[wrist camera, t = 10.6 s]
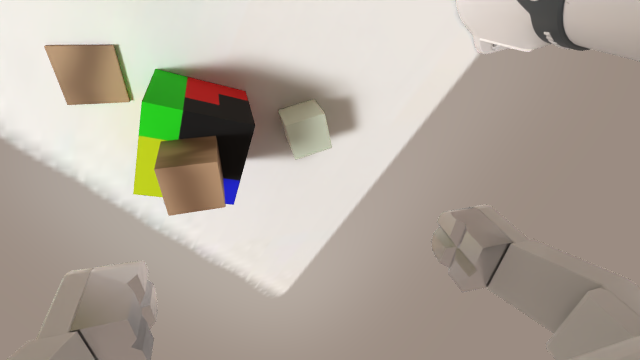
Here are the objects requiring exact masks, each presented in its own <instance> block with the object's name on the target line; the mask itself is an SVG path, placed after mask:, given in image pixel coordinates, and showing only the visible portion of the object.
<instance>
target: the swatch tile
mask: <svg viewBox="0 0 640 360" xmlns="http://www.w3.org/2000/svg"><path fill="white" fill-rule="evenodd" d="M44 47H45V50H46V52H47V55H48V57H49V60H50V62H51V65H52V67H53V70H54V72H55V75H56V77H57V80H58V82H59V85H60V87H61V90H62V92H63V95H64V97H65V100H66V102H67V105H77V104H98V103H118V102H129V101H130V99H129V96H128V92H127V89H126V85H125V82H124V78H123V75H122V71H121V68H120V64H119V61H118V57H117V54H116V50H115V47H114V45H46V46H44Z"/></svg>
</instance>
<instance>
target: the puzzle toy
mask: <svg viewBox="0 0 640 360" xmlns="http://www.w3.org/2000/svg"><path fill="white" fill-rule="evenodd" d="M254 128H255V123H254V120H253V116H252V112H251V109H250V105H249V102H248V98H247V95H246V91H242V90H238V89H234V88H230V87H226V86H222V85H218V84H214V83H210V82H206V81H202V80H198V79H194V78H190V77H186V76H182V75H178V74H174V73H170V72H166V71H162V70H158V69H155V71H154V74H153V76H152V78H151V81H150V83H149V86H148V88H147V90H146V93H145V95H144V98H143V100H142V105H141V116H140V127H139V138H138V149H137V160H136V171H135V182H134V193H133V194H137V195H147V196H156V197H163V196H162V193H161V190H160V186H159V183H158V180H157V177H156V174H155V171H154V168H155V163H156V159H157V155H158V151H159V147H160V142H161V141H169V140H179V139H189V138H199V137H208V136H216V139H217V145H218V150H219V156H220V162H221V168H222V173H223V180H224V194H225V204H232V205H234V201H235V198H236V194H237V190H238V187H239V183H240V179H241V176H242V172H243V168H244V165H245V161H246V157H247V154H248V150H249V146H250V142H251V139H252V135H253V131H254Z"/></svg>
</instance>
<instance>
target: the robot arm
mask: <svg viewBox="0 0 640 360" xmlns="http://www.w3.org/2000/svg"><path fill="white" fill-rule="evenodd" d="M456 6H457V11H458V14H459V17H460V19H461V21H462V22H463V24H464V25H465V27H466V28H467V29H468V30H469V31H470V32H471V34H472V35H473V39H474V44H475V48H476V50H477V52H479V53H482V54H489V53H493V52H497V51H501V50H505V49H509V48H512V49H516V50H520V51H525V52H531V51H532V50H533V49H537V48H541V47H544V46H547V45H550V44H553V45H555V46H557V47H560V48H564V49H574V50H582V51H583V50H590V49H593V50H597V51H601V52H604V53H608V54H612V55H616V56H620V57H624V58H628V59H632V60H635V61H639V62H640V0H456ZM492 44H493V45H492ZM437 222H438V224H439V226H440V227H439V228H438V229H437V230H436V231H435V232H434V233H433V237H432V241H431V243H432V250H433V253H434V255H435V257H436V258H437V260H438V261H439V262H440V263H441V264H443V265H445V266H447V267H448V268H449V276H450V277H451V278H452V280H453V281H454V282H455V284H456V285H457V286H458V288H459V289H460V290H461V292H467V291H472V290H476V289H481V288H486V287H488V290H489V291H491V292H493V293H494V294H496V295H497V296H498V297H500V298H502V299H503V300H504V301H506V302H507V303H509V304H510V305H512V306H513V307H515V308H516V309H518V310H519V311H521V312H523V313H524V314H525V315H527V316H528V317H530V318H531V319H533V320H534V321H536V322H537V323H539V324H541V325H542V326H543V327H545V328H546V329H548V330H549V331H551V332H553V333H554V334H553V336H552V337H551V338H550V339H549V341H548V342H547V344H546V349H547V350H548V352H549V353H550V354H551V355H552V356H553V358H554V359H555V360H640V287H639V286H638V285H636V284H635V283H634V282H632V281H631V280H630V279H628V278H626V277H623V276H621V275H619V274H616V273H614V272H611V271H609V270H607V269H604V268H602V267H600V266H597V265H595V264H593V263H590V262H588V261H585V260H583V259H581V258H578V257H576V256H573V255H571V254H569V253H566V252H564V251H561V250H559V249H557V248H554V247H552V246H550V245H547V244H545V243H543V242H540V241H538V240H535V239H531V240H530V239H529V238H527V237H526V236H525V235H524V234H523V233H522V232H521V231H519V230H518V229H517V228H516V227H515V226H514V225H513V224H511V223H510V222H509V221H508V220H507V219H506V218H505V217H503V215H501V214H500V213H499V212H498V211H497V210H496V209H495V208H493V207H492V206H490V205H487V204H486V205H480V206H474V207H469V208H463V209H457V210H451V211H445V212H443V213H442V214H441V215H440V216H439V219H438V221H437ZM148 273H149V270H148V268H147V265H146V263H145V261H135V262H129V263H121V264H114V265H106V266H99V267H95V268H88V269H81V270H74V271H69V272H68V273H67V274H66V275H65V276H64V277H63V279H62V282H61V284H60V286H59V288H58V291H57V293H56V295H55V297H54V300H53V302H52V304H51V307H50V309H49V311H48V313H47V316H46V318H45V320H44V322H43V325H42V327H41V329H40V332H39V334H38V336H37V338H36V339H35V340H30V341H27V342H26V343H25V344H24V345H23V346H22V347H20V348H19V349H18V350H17V351H16V352H15V353H14V354H12V355H11V356H10V357H9V358H8V359H7V360H151V356H152V348H153V341H154V338H153V336H152V333H151V331H150V328H151V327H152V326H153V325H154V323H155V322H156V317H157V296H156V290H155V287H154V284H153V283H152V282H150V281H148V280H147V279H148Z"/></svg>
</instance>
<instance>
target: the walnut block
mask: <svg viewBox="0 0 640 360" xmlns="http://www.w3.org/2000/svg"><path fill="white" fill-rule="evenodd" d="M154 171H155V174H156V177H157V180H158V183H159V186H160V190H161V193H162V196H163V199H164V202H165V205H166V209H167V212H168V215H169V216H170V215H176V214H183V213H189V212H196V211H203V210H209V209H216V208H222V207H225V194H224V180H223V173H222V168H221V162H220V156H219V150H218V145H217V139H216V136H208V137H199V138H189V139H179V140H169V141H161V142H160V147H159V151H158V155H157V159H156V163H155V168H154Z"/></svg>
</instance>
